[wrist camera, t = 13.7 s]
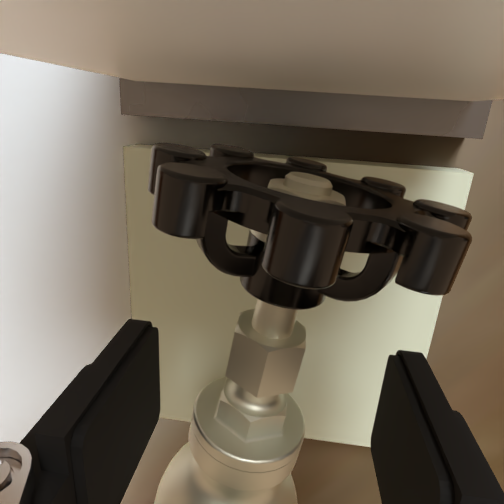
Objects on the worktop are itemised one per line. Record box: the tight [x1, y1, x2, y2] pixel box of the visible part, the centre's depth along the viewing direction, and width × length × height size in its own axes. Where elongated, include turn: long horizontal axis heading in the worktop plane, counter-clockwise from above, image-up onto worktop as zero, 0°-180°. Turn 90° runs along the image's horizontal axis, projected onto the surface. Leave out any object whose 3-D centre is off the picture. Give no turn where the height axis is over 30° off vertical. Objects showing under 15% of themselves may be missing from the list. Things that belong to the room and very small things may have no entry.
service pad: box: [123, 144, 474, 447], centre depth 15 cm, size 11×11×1 cm
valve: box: [148, 143, 472, 504], centre depth 10 cm, size 7×7×12 cm
